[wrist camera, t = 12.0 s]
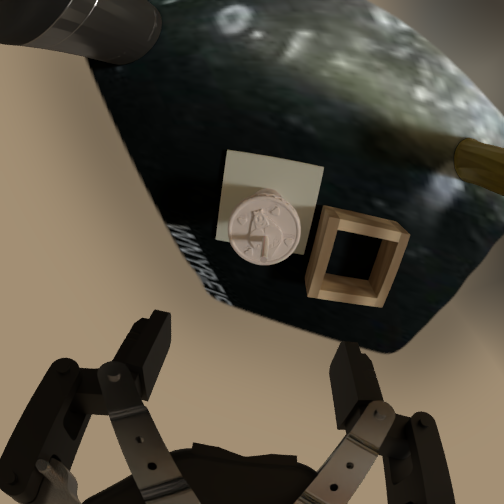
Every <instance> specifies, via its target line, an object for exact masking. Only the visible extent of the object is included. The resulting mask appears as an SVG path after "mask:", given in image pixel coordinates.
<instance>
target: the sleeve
mask: <svg viewBox="0 0 504 504" xmlns="http://www.w3.org/2000/svg"><path fill="white" fill-rule="evenodd" d="M337 230H342V231H347V232H352V233H357V234H362V235H366V236H371V237H376V238H381V239H382V242H381V245H380V248H379V251H378V254H377V257H376V260H375V263H374V266H373V269H372V271H371V274H370V277H369V280H363V279H357V278H351V277H345V276H339V275H333V274H327V273H325V271H326V268H327V265H328V261H329V258H330V254H331V251H332V247H333V244H334V240H335V237H336V233H337ZM409 237H410V234H409V233H408V232H407V231H406V230H405V229H404V228H403V227H401V226H400V225H399V224H398V223H397V222H395V221H391V220H387V219H383V218H379V217H374V216H370V215H366V214H361V213H357V212H353V211H348V210H343V209H339V208H334V207H329V206H325V205H323V208H322V212H321V216H320V220H319V224H318V228H317V232H316V236H315V240H314V244H313V248H312V252H311V256H310V260H309V263H308V267H307V271H306V275H305V284H306V290H307V297H312V298H319V299H325V300H332V301H339V302H346V303H353V304H360V305H367V306H375V307H383V304H384V302H385V300H386V297H387V295H388V293H389V290H390V288H391V285H392V283H393V280H394V278H395V275H396V273H397V270H398V268H399V265H400V262H401V260H402V257H403V254H404V251H405V248H406V246H407V243H408V240H409Z"/></svg>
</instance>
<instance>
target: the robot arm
mask: <svg viewBox="0 0 504 504" xmlns="http://www.w3.org/2000/svg"><path fill="white" fill-rule="evenodd" d="M161 26H162V20H161V16H160V13H159V11H158V10H157V9H156V8H155V7H154V6H153V5H152V4H151V3H149V2H148V1H147V0H0V44H5V45H6V44H7V45H18V46H19V45H20V46H26V47H34V48H41V49H48V50H54V51H59V52H64V53H69V54H74V55H79V56H84V57H88V58H92V59H96V60H100V61H104V62H108V63H112V64H117V65H120V64H127V63H131V62H133V61H135V60H138V59H139V58H141V57H142V56H144V55H145V54H146V53H147V52H148V51H149V50H150V49H151V48H152V47H153V45H154V44H155V43H156V41H157V39H158V37H159V35H160V31H161ZM170 343H171V314H170V313H168V312H163V311H159V310H154V311H153V313H152V315H151V316H150V318H149V319H146V318H141V319H140V320H138V321H137V322H136V323H134V325H133V326H132V328H131V330H130V332H129V333H128V335H127V336H126V339H125V340H124V341H123V343H122V345H121V346H120V348H119V350H118V352H117V354H116V355H115V357H114V359H113V360H112V361H110V362H107V363H104V364H103V365H102V366H101V367H100V368H98V369H88V368H79V366H78V364H77V362H75V361H74V360H72V359H70V358H61V359H58V360H56V361H54V362H53V363H52V365H51V366H50V368H49V369H48V371H47V372H46V374H45V376H44V377H43V380H42V381H41V383H40V384H39V386H38V388H37V389H36V391H35V393H34V394H33V396H32V398H31V400H30V401H29V403H28V405H27V407H26V409H25V410H24V412H23V414H22V416H21V418H20V420H19V422H18V423H17V425H16V427H15V429H14V431H13V433H12V435H11V437H10V439H9V441H8V443H7V445H6V447H5V450H4V452H3V454H2V456H1V458H0V489H1V490H2V491H3V492H5V493H6V494H7V495H9V496H10V497H12V498H13V499H14V500H15V501H17V502H18V503H20V504H81V503H80V501H79V499H78V496H77V488H78V487H77V485H78V484H77V481H76V479H75V477H74V476H73V475H72V473H71V472H70V469H71V466H72V463H73V461H74V458H75V455H76V453H77V450H78V447H79V445H80V442H81V440H82V437H83V435H84V432H85V429H86V427H87V425H88V422H89V420H90V417H91V415H92V414H95V415H109V417H110V420H111V423H112V426H113V428H114V431H115V434H116V437H117V439H118V442H119V445H120V447H121V449H122V452H123V455H124V457H125V459H126V462H127V464H128V466H129V469H130V471H131V473H132V475H130V476H128V477H126V478H125V479H123V480H121V481H120V482H118V483H116V484H114V485H112V486H110V487H108V488H107V489H105V490H103V491H101V492H99V493H97V494H96V495H93V496H91V497H90V498H88V499H86V500H85V501H84V502H83V503H82V504H347V503H348V501H349V500H350V498H351V497H352V496H353V494H354V493H355V491H356V490H357V488H358V487H359V485H360V484H361V482H362V481H363V479H364V478H365V476H366V474H367V473H368V471H369V470H370V468H371V466H372V465H373V463H374V461H375V460H376V458H377V456H378V455H382V456H383V464H384V472H385V480H386V489H387V500H388V504H455V499H454V493H453V488H452V484H451V479H450V475H449V470H448V467H447V462H446V458H445V454H444V451H443V447H442V443H441V439H440V436H439V432H438V429H437V425H436V422H435V420H434V419H433V417H432V416H431V415H429V414H428V413H426V412H416V413H415V414H414V415H413V416H412V417H407V416H402V415H398V414H396V413H395V411H394V409H393V408H392V407H391V406H390V405H389V404H388V403H386V402H384V400H383V397H382V394H381V390H380V387H379V384H378V380H377V378H376V374H375V371H374V367H373V364H372V361H371V360H370V359H369V357H368V356H367V355H366V354H362V353H361V351H360V348H359V345H358V343H356V342H347V341H342V342H341V343H340V345H339V348H338V349H337V352H336V354H335V356H334V358H333V360H332V363H331V365H330V371H329V375H330V382H331V388H332V395H333V401H334V407H335V415H336V422H337V429H338V430H346V435H345V437H344V438H343V439H342V441H341V442H340V443H339V445H338V446H337V447H336V449H335V450H334V451H333V452H332V454H331V455H330V456H329V458H328V459H327V460H326V462H325V463H324V464H323V465H322V466H321V467H320V468H319V470H318V471H317V472H316V471H315V470H313V469H312V468H310V467H308V466H306V465H304V464H301V463H298V462H297V456H293V455H278V454H268V455H260V456H250V457H244V456H241V455H238V454H235V453H232V452H230V451H227V450H225V449H222V448H220V447H215V446H209V445H204V444H199V443H193V446H192V448H186V449H179V450H175V451H172V452H169V451H168V449H167V447H166V446H165V444H164V442H163V440H162V438H161V436H160V434H159V432H158V430H157V428H156V426H155V423H154V421H153V419H152V417H151V415H150V413H149V411H148V409H147V407H145V406H144V404H143V402H142V400H145V401H148V400H149V397H150V395H151V392H152V390H153V387H154V385H155V382H156V380H157V377H158V375H159V372H160V370H161V367H162V365H163V362H164V360H165V357H166V355H167V353H168V350H169V347H170Z"/></svg>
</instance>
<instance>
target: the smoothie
mask: <svg viewBox="0 0 504 504" xmlns="http://www.w3.org/2000/svg"><path fill="white" fill-rule="evenodd" d="M300 235H301V226H300V219H299V217H298V214H297V212H296V210H295V209H294V208H293V206H292V205H291V204H290V203H289V202H288V201H286V200H285V199H283V198H282V197H281V195H280V194H279V193H278V192H277V191H275V190H273V189H270V188H265V189H261V190H259V191H257V192H256V193H255V194H253V195H251V196H249V197H247V198H244V199H243V200H242V201H241V202H239V203H238V204H237V205H236V207H235V208H234V209H233V211H232V213H231V216H230V218H229V222H228V238H229V241H230V244H231V246H232V247H233V249H234V250H235V252H236V253H237V254H238V255H239V256H240V257H242V258H243V259H245V260H247V261H249V262H251V263H254V264H258V265H271V264H275V263H278V262H281V261H283V260H285V259H286V258H287V257H289V256H290V255H291V254H292V253H293V252H294V250H295V249H296V247H297V245H298V243H299V240H300Z"/></svg>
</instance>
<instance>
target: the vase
mask: <svg viewBox="0 0 504 504" xmlns="http://www.w3.org/2000/svg"><path fill="white" fill-rule="evenodd" d="M454 165H455V169H456V172H457V174H458V175H459V177H460V178H461V179H462V180H463V181H465V182H467V183H473V184H476V185H478V186H481V187H484V188H486V189H488V190H490V191H493V192H495V193H497V194H500V195H502V196H504V148H501V147H498V146H494V145H489V144H484V143H481V142H479V141H477V140H475V139H472V138H467V139H465V140H463V141H461V142H460V143H459V145H458V146H457V148H456V151H455V155H454Z"/></svg>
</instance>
